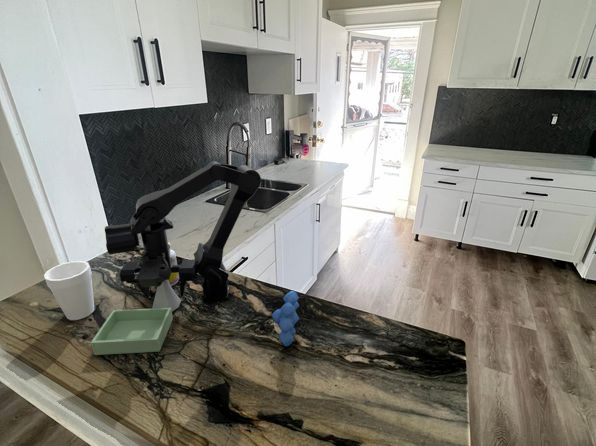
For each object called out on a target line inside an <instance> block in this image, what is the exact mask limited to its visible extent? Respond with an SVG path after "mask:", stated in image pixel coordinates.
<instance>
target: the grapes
mask: <svg viewBox="0 0 596 446" xmlns="http://www.w3.org/2000/svg"><path fill="white" fill-rule="evenodd" d="M299 298H300V297H299V295H298V294H297V291H295V290H290V291H288V292H287V293H286V294H285V295H284V297H282V299H283V301H284V304H283V305H282V306H281V307H280V308H277V309H275V311H274V312H273V313H272V314H271V318H272V320H273V322H274V323H275V324H278V327H279V329H280V330H281V331H280V333H279V334H278V338H279V340H280V341H279V342H281V344H282V345H283V346H284V347H289V346H291V344H292V343H293V342H294V341H295V338H294V336H295V335H296V333H297V330H296V328H295V326H296V324H297V323H298V322H299V321H300V317H299V315H298V313H297V309H298V308H299V307H300V304H299V303H298V302H299V301H298V300H299Z"/></svg>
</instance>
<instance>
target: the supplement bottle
mask: <svg viewBox="0 0 596 446" xmlns="http://www.w3.org/2000/svg"><path fill="white" fill-rule="evenodd" d="M168 244H170V248H169V252H170V258H172V262H171V264H172V265H178V261H177V255H176V252H175V251H174V250H173V249H172V245H171V243H170V242H169V241H168ZM179 278H180V277H179V274H178V273H171V275H170V279H169V280H168V281H169V284H170V286H171V287H172V286H175V285H177V283H179V281H178V280H179Z"/></svg>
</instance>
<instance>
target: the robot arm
mask: <svg viewBox="0 0 596 446" xmlns="http://www.w3.org/2000/svg"><path fill="white" fill-rule="evenodd" d="M218 181H221V182H225V183H228V184H230V189H229V195H228V198H227V200H226V202H225V205H224V207H223V208H222V211H221V213H220V214H219V217H218V219H217V222H216V224H215V225H214V228H213V230H212V232H211V235H210V237H209V238H208V240H207V241H206V242H205V243H201V242H199V243H198V245H197V249H196V251H195V252H194V253H193V257H194V258H193V259H182V261H181V263H180V264H177V265H172V264H171V262H172V258H170V252H169V248H170V245H171V243H170V244H168V242H169V241H168V240H169V239H168V235H167V230H172V229H174V224H173V221H172V220H170V219H168V218H167V216H168V215H169V214H170V213H172V211H173V210H174V208H175V207H177V205H179V204H181V203H182V202H184V201H185V200H187V199H189V198H190V197H192V196H194V195H195V194H197V193H198V192H201V191H202V190H204V189H205V188H207V187H209V186H210V185H212V184H214V183H215V182H218ZM261 184H262V177H261V175H260V173H259V172H258V171H256V169H253V168H252V167H250V166H249V165H246V164H244V165H243V164H241V165H239V166H237V165H232V164H227V163H221V162H219V161H215V160H213V161H210V162H209V163H208V164H207V165H205V166H204V167H202V168H200V169H198V170H197V171H195V172H193V173H191V174H190V175H188V176H187V177H185V178H183V179H181V180H179V181H178V182H176V183H175V184H173V185H171V186H169V187H167V188H165V189H162V190H161V189H160V190H156V191H153V192H150V193H148V194H144V195H142V196H141V197H139V198H138V199H137V200H136V203H135V212H134V214H133V215H132V217H131V218H130V223H124V224H117V225H106V226H105V227H104V234H105V241H106V242H105V248H106V252H107V255H109V256H111V255H117V254H122V253H128V252H129V253H130V252H133V251H134V252H135V251H136V250H138V246H140V245H141V243H140V238H141V242H142V246H143V251H144V253H142V261H141V260H135V261H134V260H133V261H131V260H130V261H127V262H126V263H125V264H124V265H123V266H122V268H120V270H119V271H118V279H119V281H120V282H121V283H123V282H126V284H132V285H134V286H136V288H137V289H139V291H140V292H141V293H142V294H143V296H144V297H145V298H146V299H150V287H154V288H157V287H159V286H160V285H161V284H162V282H164V281H165V280H169V279H170V275H171V273H178V274H179V280H178V283H179V294H180V297H181V298H184V294H185V291H186V286H187V282H190V281H191V280H195V278H196V277H197V275H198V274H199V275H200V276H201V277H202V278H203V279H202V282H201V285H202V293H203V294H202V295H204V298H203V300H204V301H215V300H227V299H228V298H229V294H230V284H229V276H230V274H229V272H228V270H227V269H226V266H225V265H224V262H223V258H224V249H225V246H226V244H227V242H228V240H229V238H230V236H231V234H232V231H233V230H234V227H235V225H236V223H237V221H238V219H239V217H240V215H241V212H242V210H243V208H244V206H245V205H246V203H247V202H248V201H249V200H250V199H251V198H252V197H254V195H255V194H256V193H257V191H258V190H259V188H260V187H261ZM139 235H140V238H139Z"/></svg>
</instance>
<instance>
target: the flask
mask: <svg viewBox="0 0 596 446" xmlns="http://www.w3.org/2000/svg"><path fill="white" fill-rule="evenodd" d="M181 302H182V299H181V298H180V297H179V296H178V294H177V293H176V292H175V290H174V289H173V287H172V286H170V284H169V281H168V280H165V281H164V282H162V284H161V285H160V286H159V287H156V290H155V296H154V299H153V304H152V306H151V307H152V308H171V310H172V312H174V311H175V310H177V309H178V308H180V305H181ZM152 308H151V309H152Z"/></svg>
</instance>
